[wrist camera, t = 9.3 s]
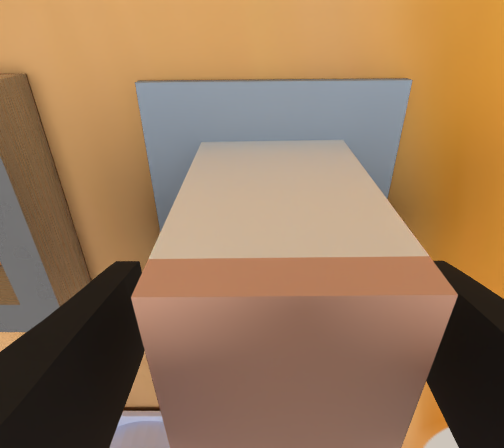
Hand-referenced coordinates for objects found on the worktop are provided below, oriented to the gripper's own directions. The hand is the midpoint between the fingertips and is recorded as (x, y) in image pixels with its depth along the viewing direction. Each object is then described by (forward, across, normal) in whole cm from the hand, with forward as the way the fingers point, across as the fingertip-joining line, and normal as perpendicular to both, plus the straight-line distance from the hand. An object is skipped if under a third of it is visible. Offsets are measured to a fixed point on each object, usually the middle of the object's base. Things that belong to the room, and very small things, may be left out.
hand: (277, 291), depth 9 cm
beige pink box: (+5, 0, 0) cm, 5 cm away
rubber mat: (+5, 0, 0) cm, 5 cm away
